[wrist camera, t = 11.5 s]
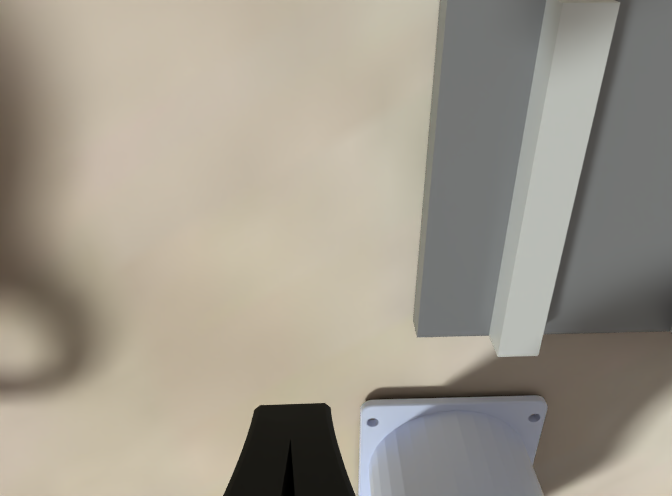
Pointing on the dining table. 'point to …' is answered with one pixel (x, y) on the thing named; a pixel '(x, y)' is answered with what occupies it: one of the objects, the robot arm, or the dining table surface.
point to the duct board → (548, 172)
